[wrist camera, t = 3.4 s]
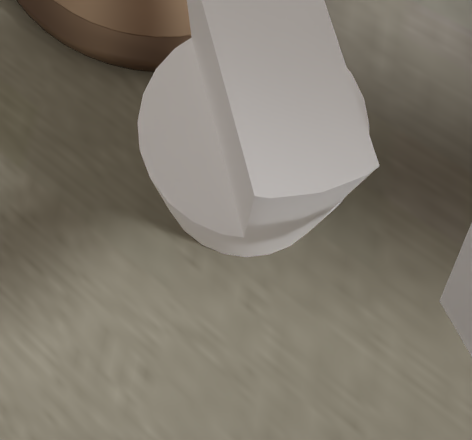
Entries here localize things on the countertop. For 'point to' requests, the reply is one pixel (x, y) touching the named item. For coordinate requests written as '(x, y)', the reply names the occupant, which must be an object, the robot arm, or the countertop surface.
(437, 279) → the countertop surface
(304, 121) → the cylinder with rectangular tab
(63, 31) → the board
